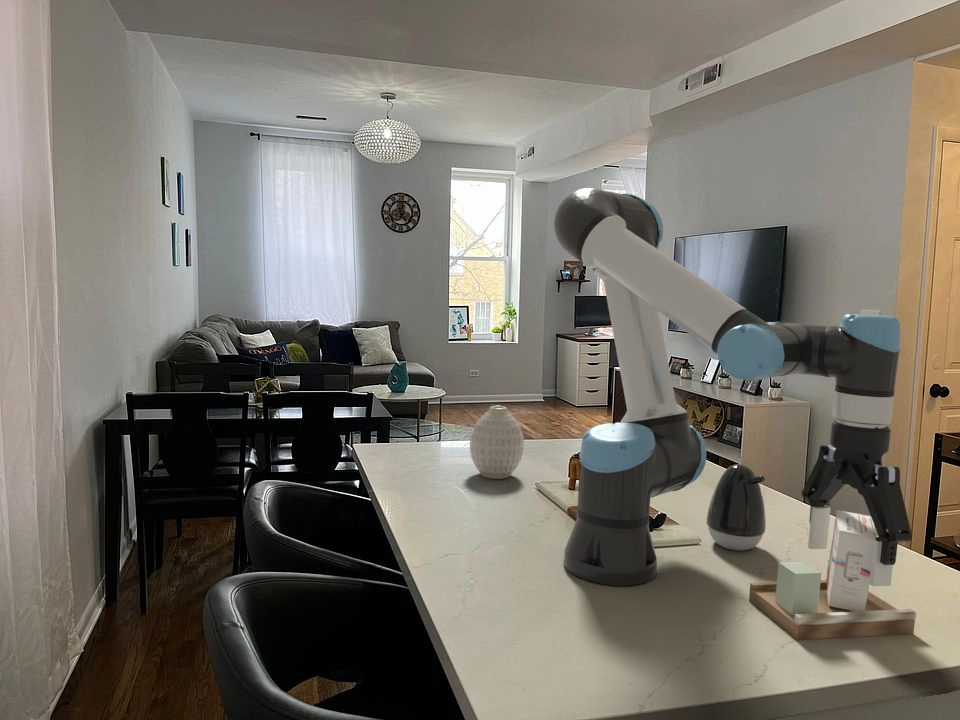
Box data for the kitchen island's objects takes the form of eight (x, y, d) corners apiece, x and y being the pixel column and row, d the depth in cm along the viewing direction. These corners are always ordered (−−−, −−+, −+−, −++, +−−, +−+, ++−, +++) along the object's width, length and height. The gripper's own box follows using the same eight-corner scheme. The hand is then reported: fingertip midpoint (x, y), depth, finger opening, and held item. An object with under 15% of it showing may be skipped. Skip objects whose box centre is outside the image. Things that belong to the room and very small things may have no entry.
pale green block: (791, 615, 101) (795, 573, 100) (775, 602, 105) (778, 562, 104) (817, 614, 102) (821, 572, 101) (800, 601, 106) (803, 561, 105)
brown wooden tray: (797, 640, 98) (799, 617, 98) (748, 600, 110) (750, 580, 110) (914, 634, 101) (916, 612, 101) (854, 596, 113) (857, 576, 113)
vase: (531, 475, 176) (535, 407, 174) (504, 486, 165) (508, 414, 163) (486, 465, 183) (489, 400, 181) (458, 476, 172) (460, 406, 170)
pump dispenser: (736, 559, 126) (743, 474, 125) (693, 539, 135) (699, 460, 134) (777, 552, 131) (784, 469, 129) (732, 533, 140) (739, 455, 138)
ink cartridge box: (823, 580, 112) (838, 489, 109) (859, 588, 110) (875, 496, 107) (826, 606, 104) (842, 509, 101) (865, 615, 102) (882, 517, 99)
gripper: (954, 442, 93) (936, 602, 95) (828, 407, 117) (816, 534, 119) (903, 442, 91) (885, 604, 94) (786, 406, 116) (774, 535, 118)
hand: (846, 565), depth 106 cm, fingers open, 13 cm apart
